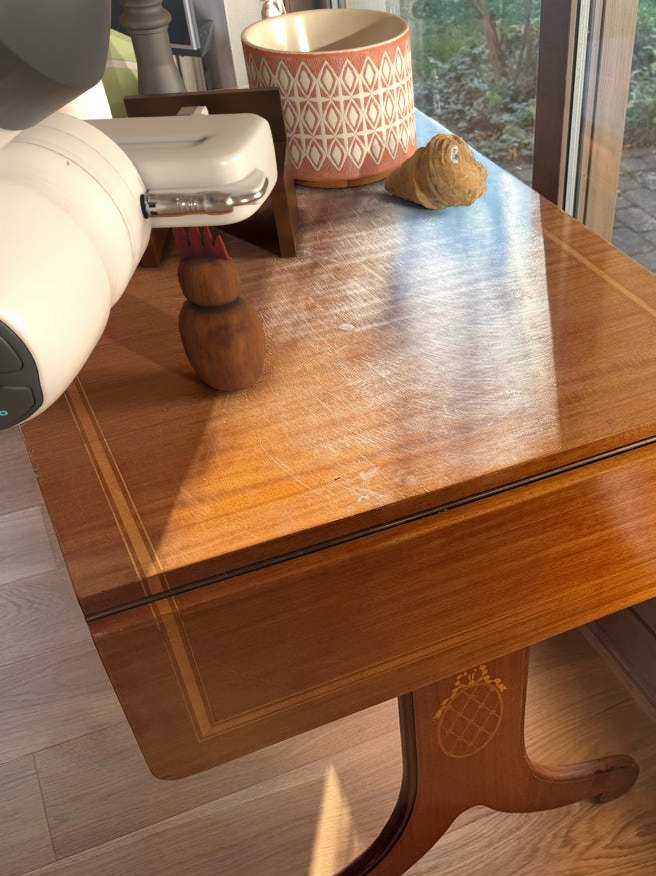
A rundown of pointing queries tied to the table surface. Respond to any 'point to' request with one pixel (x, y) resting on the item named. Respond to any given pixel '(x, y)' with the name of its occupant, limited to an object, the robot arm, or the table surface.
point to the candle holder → (151, 46)
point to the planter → (338, 91)
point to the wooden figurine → (217, 315)
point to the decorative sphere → (120, 73)
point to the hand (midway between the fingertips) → (120, 123)
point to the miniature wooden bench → (232, 102)
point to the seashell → (440, 175)
